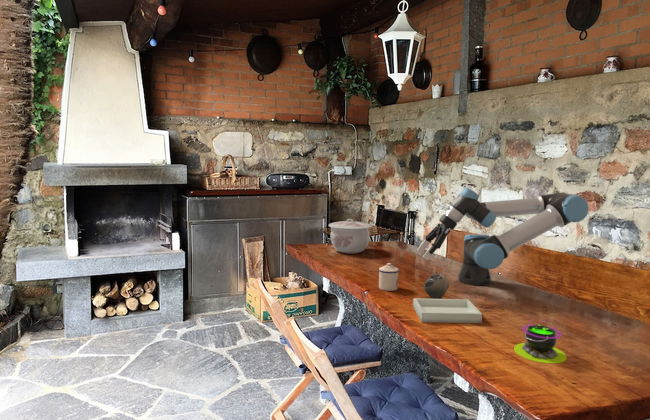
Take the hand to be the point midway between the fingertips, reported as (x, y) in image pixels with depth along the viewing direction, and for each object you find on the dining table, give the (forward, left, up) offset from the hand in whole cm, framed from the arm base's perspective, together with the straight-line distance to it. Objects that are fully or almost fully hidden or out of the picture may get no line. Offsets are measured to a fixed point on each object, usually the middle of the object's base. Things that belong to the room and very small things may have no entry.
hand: (421, 255), depth 212 cm
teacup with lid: (+15, 0, -16) cm, 22 cm away
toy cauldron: (-24, +69, -16) cm, 74 cm away
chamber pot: (+29, -78, -16) cm, 85 cm away
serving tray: (-3, +35, -15) cm, 38 cm away
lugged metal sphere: (-3, +18, -16) cm, 24 cm away
